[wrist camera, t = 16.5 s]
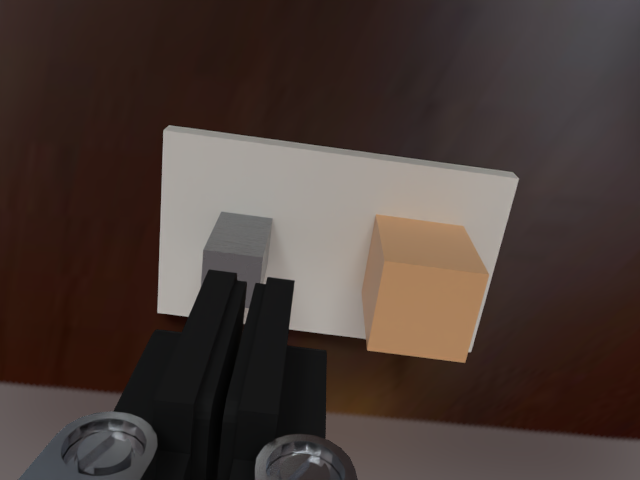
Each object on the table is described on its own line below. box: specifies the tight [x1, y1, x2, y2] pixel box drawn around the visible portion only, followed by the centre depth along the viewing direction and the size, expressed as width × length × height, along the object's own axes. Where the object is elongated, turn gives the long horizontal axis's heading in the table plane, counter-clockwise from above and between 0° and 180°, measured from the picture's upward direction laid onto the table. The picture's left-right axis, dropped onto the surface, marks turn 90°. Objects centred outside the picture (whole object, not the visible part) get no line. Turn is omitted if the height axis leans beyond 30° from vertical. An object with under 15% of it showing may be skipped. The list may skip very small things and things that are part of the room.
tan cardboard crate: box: [362, 214, 489, 363], centre depth 40 cm, size 6×6×8 cm
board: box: [157, 125, 519, 352], centre depth 44 cm, size 14×24×2 cm, turn 82°
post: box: [201, 212, 273, 308], centre depth 41 cm, size 4×4×8 cm
